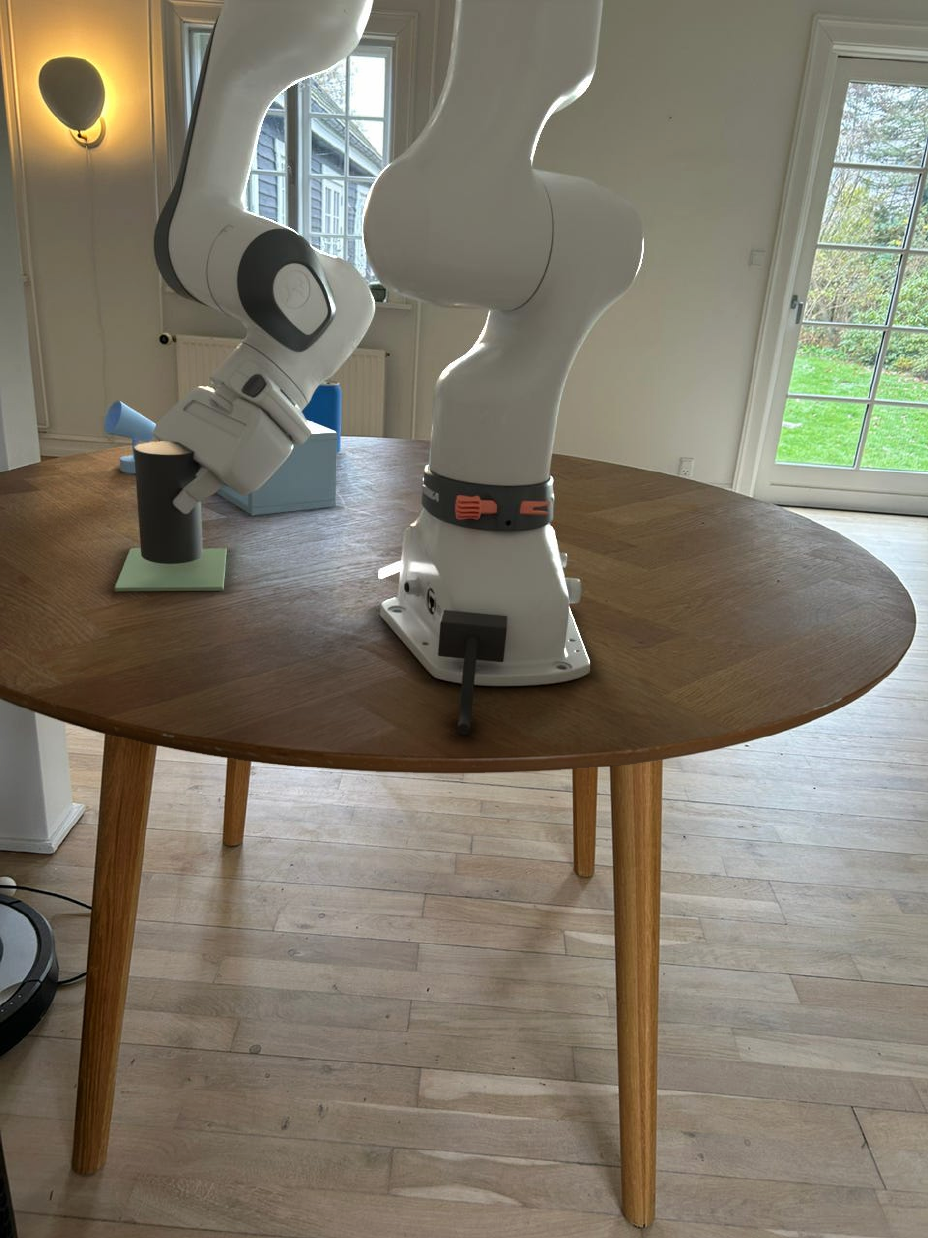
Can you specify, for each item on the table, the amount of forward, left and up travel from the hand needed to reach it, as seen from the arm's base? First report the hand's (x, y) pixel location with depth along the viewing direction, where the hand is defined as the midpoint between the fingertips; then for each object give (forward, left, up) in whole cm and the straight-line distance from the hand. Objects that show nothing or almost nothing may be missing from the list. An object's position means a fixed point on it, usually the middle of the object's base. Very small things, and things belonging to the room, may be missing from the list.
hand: (163, 498), depth 85 cm
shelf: (+30, -11, -8) cm, 33 cm away
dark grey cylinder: (0, 0, -6) cm, 6 cm away
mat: (0, -1, -8) cm, 8 cm away
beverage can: (+57, -20, -8) cm, 61 cm away
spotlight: (+43, +8, -8) cm, 45 cm away
